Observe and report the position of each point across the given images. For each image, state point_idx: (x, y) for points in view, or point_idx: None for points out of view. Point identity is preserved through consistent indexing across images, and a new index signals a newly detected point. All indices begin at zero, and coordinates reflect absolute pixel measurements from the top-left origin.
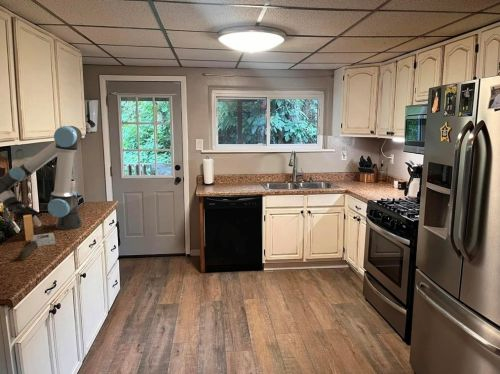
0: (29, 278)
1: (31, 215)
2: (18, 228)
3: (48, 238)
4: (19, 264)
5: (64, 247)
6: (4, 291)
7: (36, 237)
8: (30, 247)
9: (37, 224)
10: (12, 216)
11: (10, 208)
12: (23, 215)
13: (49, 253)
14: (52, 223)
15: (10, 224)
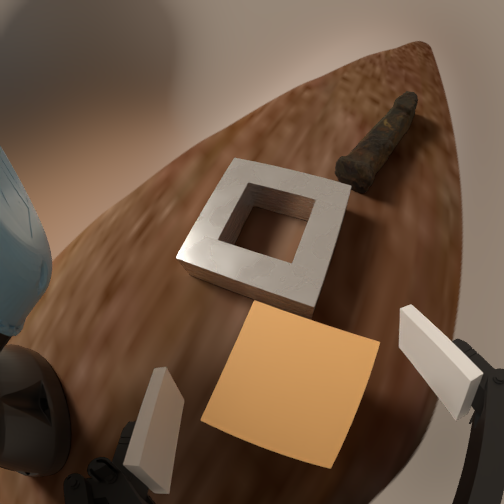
0: (396, 51)
1: (237, 342)
2: (417, 314)
3: (265, 164)
4: None
5: (247, 122)
6: (432, 51)
7: (305, 231)
8: (377, 124)
9: (179, 418)
10: (488, 450)
11: None
12: (330, 460)
13: (318, 107)
14: None
15: (482, 370)
